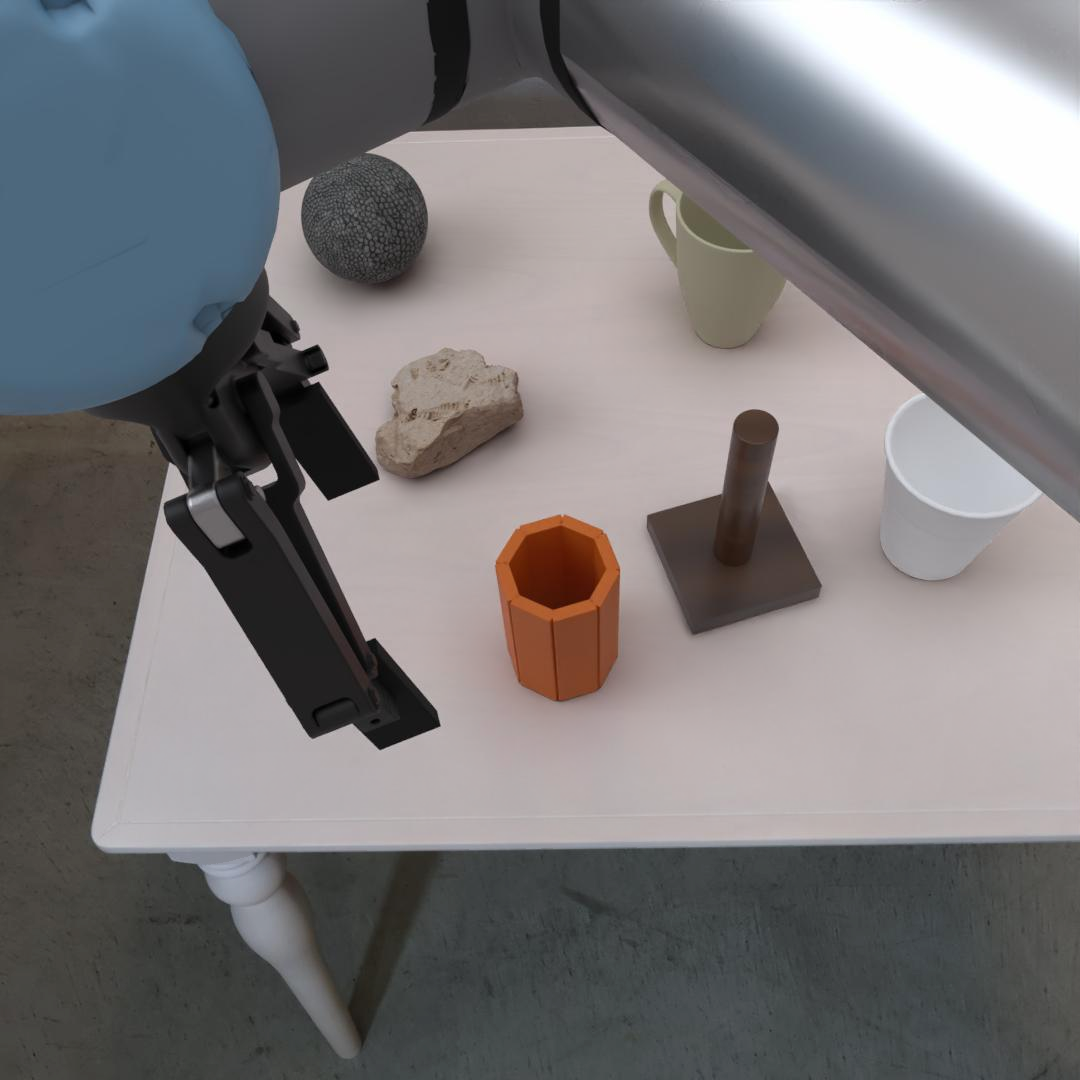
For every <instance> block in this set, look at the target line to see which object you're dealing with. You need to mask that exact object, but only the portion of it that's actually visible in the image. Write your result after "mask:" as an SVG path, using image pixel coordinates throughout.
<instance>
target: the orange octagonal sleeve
mask: <svg viewBox="0 0 1080 1080" xmlns="http://www.w3.org/2000/svg"><path fill="white" fill-rule="evenodd" d="M494 569H495V575H496V581H497V588H498V596H499V600H500V608H501V614H502V621H503V627H504V633H505V639H506V646H507V651H508V655H509V657H510V660H511V663H512V666H513V669H514V672H515V676H516V679H517V681H518V684H520V685H521V686H522V687H524V688H527V689H528V690H531V691H532V692H535V693H537V694H539V695H541V696H544V697H545V698H547V699H550V700H552V701H554V702H557V701H559V702H564V701H568V700H572V699H573V698H577V697H581V696H584V695H587V694H590V693H593V692H596V691H597V692H598V690H599V689H601V688H602V686H603V685H604V683H605V681H606V679H607V677H608V675H609V674H610V672H611V670H612V668H613V666H614V664H615V662H616V660H617V659H618V655H619V623H620V622H619V620H620V593H621V592H620V591H621V589H620V587H621V566H620V564H619V561H618V559H617V556H616V554H615V552H614V549H613V547H612V544H611V542H610V540H609V536H608V534H607V533H606V532H605V533H604V529H602V528H600V527H597V526H594V525H592V524H589V523H587V522H584V521H583V520H580V519H577V518H575V517H573V516H570V515H568V514H565V513H564V514H563V515H562V514H556V515H553V516H550V517H546V518H543V519H539V520H535V521H531V522H528V523H525V524H521V525H519V527H517V528H515V529H514V531H513V533H512V535H511V536H510V538H509V539H508V541H507V543H506V544H505V546H503V548H502V550H501V552H500V553H499V555H498V557H497V558H496V560H495V564H494Z"/></svg>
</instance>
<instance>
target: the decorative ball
mask: <svg viewBox="0 0 1080 1080" xmlns="http://www.w3.org/2000/svg"><path fill="white" fill-rule="evenodd" d="M301 201H302V202H301V209H300V222H301V223H300V224H301V230H302V233H303V237H304V239H305V243H306V245H307V246H308V248H309V250H310V252H311V253H312V255H313V256H314V258H315V259H316V260H317V261H318V262H319V263H320V264H321V265H322V267H324V268H325V269H326V270H327V271H328V272H330V273H332V274H333V275H335V276H337V277H339V278H341V279H343V280H346V281H348V282H352V283H358V284H377V283H382V282H383V283H384V282H386V281H388V280H391V279H394V278H395V277H397V276H399V275H400V274H402V273H403V272H405V271H406V270H407V269H408V268H409V267H410V266H412V264H413V263H414V262H415V261H416V259H417V258H418V256H419V255H420V253H421V251H422V249H423V248H424V245H425V242H426V239H427V235H428V229H429V213H428V207H427V201H426V200H425V197H424V194H423V192H422V190H421V188H420V186H419V184H418V182H417V181H416V180H415V178H414V177H413V176H412V174H410V173H409V172H408V170H406V169H405V168H404V167H403V166H402V165H400V164H399V163H397V162H395V161H394V160H392V159H390V158H388V157H385V156H384V155H380V154H376V153H369V152H366V153H364V154H361V155H359V156H357V157H355V158H353V159H351V160H349V161H346V162H344V163H342V164H340V165H338V166H336V167H334V168H331V169H329V170H327V171H325V172H323V173H321V174H319V175H317V176H314V177H312V178H311V180H310V182H309V183H308V185H307V187H306V189H305V192H304V194H303V198H302V200H301Z"/></svg>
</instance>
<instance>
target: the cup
mask: <svg viewBox="0 0 1080 1080" xmlns="http://www.w3.org/2000/svg"><path fill="white" fill-rule="evenodd" d="M883 444H884V455H885V467H884V468H885V469H884V484H883V495H882V506H881V518H880V527H879V528H880V529H879V530H880V531H879V542H880V546H881V548H882V551H883V554H884V555H885V557H886V558H887V560H888V561H889V562H890V563H891V564H892V565H893V566H894V567H895V568H897V569H898V570H899V571H901V572H902V573H904V574H906V575H907V576H910V577H913V578H915V579H920V580H924V581H942V580H946V579H950V578H953V577H955V576H956V575H958V574H960V573H961V572H962V571H964V570H965V569H966V568H967V567H968V566H969V565H970V564H971V563H972V562H973V561H974V560H975V559H976V558H977V557H978V555H980V554H981V553H982V551H983V550H985V548H986V547H988V546H989V544H990V543H991V542H992V541H994V539H995V538H996V537H997V536H998V535H999V534H1001V532H1002V531H1004V529H1005V528H1007V526H1008V525H1009V524H1010V523H1011V522H1012V521H1014V520H1015V518H1017V516H1019V515H1020V513H1021V512H1022V511H1024V510H1026V509H1028V508H1030V507H1032V506H1033V505H1034V504H1035V503H1036V502H1037V501H1038V500H1039V499H1041V498H1042V496H1043V495H1044V493H1043V492H1042V491H1041V490H1039V489H1038V488H1037V487H1036V486H1035V485H1033V484H1032V483H1031V482H1030V481H1029V480H1027V479H1026V478H1025V477H1024V476H1023V475H1021V474H1020V473H1019V472H1018V471H1017V470H1015V469H1014V468H1013V467H1012V466H1011V465H1009V464H1008V463H1007V462H1006V461H1005V460H1003V459H1002V458H1001V457H1000V456H999V455H997V454H996V453H995V452H994V451H993V450H991V449H990V448H989V447H988V446H987V445H985V444H984V443H983V442H982V441H981V440H979V439H978V438H977V437H976V436H975V435H973V434H972V433H971V432H970V431H968V430H967V429H966V428H965V427H964V426H962V425H961V424H960V423H959V422H958V421H956V420H955V419H954V418H953V417H952V416H950V415H949V414H948V413H947V412H946V411H944V410H943V409H942V408H941V407H940V406H938V405H937V404H936V403H935V402H934V401H932V400H931V399H930V398H929V397H928V396H926V395H925V394H924V393H923V392H922V391H921V392H920V393H917V394H916V395H913V396H912V397H910V398H908V399H907V400H905V402H903V403H902V404H901V405H900V406H898V408H897V409H896V410H895V412H894V413H893V414H892V415H891V416H890V419H889V421H888V423H887V426H886V428H885V433H884V438H883Z"/></svg>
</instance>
